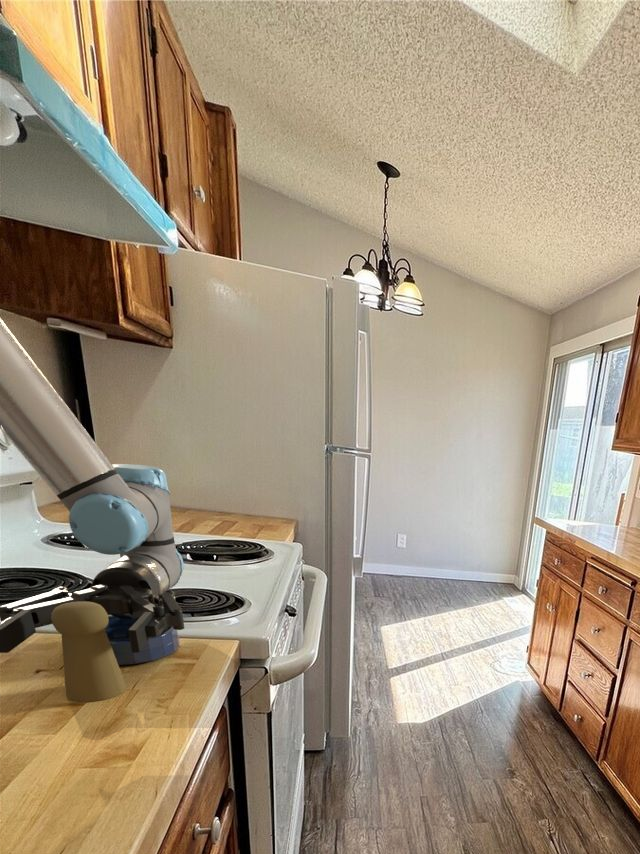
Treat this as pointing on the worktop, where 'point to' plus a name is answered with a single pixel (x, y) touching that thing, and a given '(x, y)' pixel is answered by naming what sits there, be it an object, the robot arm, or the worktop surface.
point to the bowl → (151, 651)
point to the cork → (87, 652)
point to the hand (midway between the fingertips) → (69, 641)
